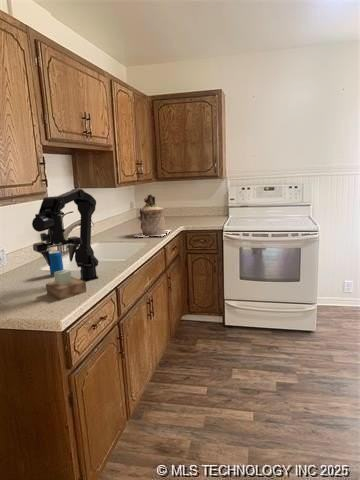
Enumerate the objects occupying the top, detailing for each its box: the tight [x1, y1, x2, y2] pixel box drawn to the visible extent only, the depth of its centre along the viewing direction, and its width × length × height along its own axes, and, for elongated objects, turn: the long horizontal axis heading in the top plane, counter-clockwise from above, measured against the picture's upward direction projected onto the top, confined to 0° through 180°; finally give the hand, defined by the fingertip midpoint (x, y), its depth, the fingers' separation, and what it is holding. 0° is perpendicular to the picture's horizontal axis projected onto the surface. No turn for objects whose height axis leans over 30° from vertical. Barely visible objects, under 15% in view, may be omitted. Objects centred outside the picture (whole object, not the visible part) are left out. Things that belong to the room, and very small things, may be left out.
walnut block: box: [45, 276, 87, 301], centre depth 150 cm, size 12×12×5 cm
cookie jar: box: [133, 193, 172, 238], centre depth 272 cm, size 25×25×32 cm
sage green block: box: [53, 269, 72, 286], centre depth 149 cm, size 5×5×5 cm
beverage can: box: [49, 250, 65, 277], centre depth 178 cm, size 6×6×12 cm
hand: (60, 263), depth 148 cm, fingers open, 9 cm apart
